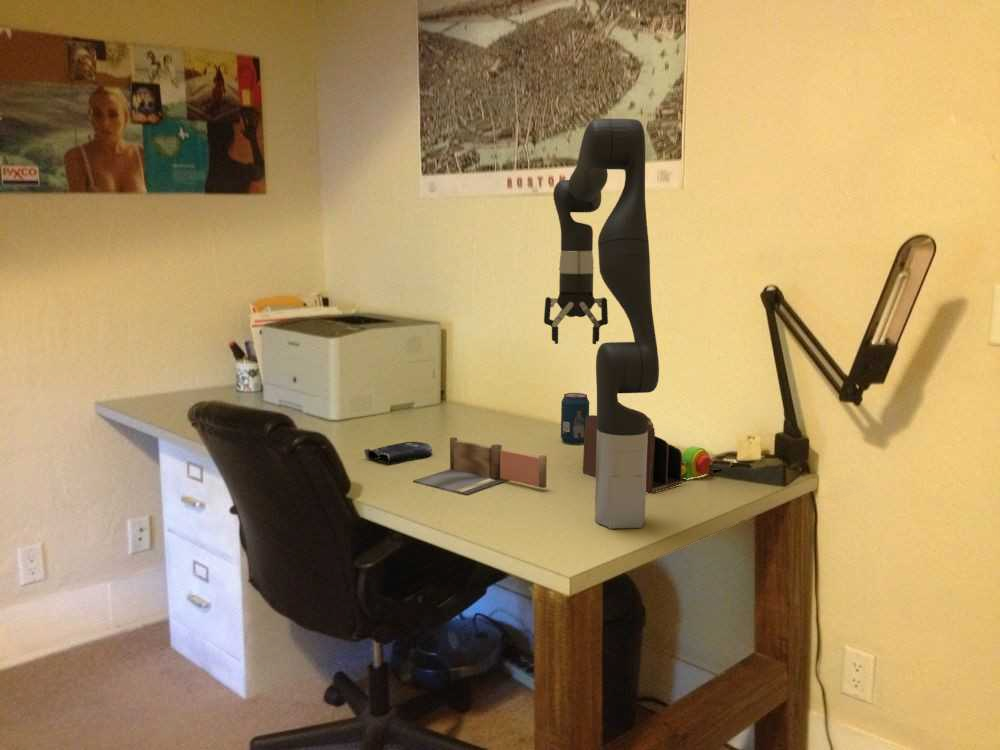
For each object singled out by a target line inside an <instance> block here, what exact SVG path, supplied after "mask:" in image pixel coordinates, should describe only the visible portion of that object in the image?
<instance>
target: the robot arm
mask: <svg viewBox="0 0 1000 750" xmlns="http://www.w3.org/2000/svg"><path fill="white" fill-rule="evenodd" d="M579 148H580V149H579V151H578V153H579V154H578V159H577V164H576V167H575V168H574V170H573V172H572V174H571V175H570V177H569V179H563V180H562V179H561V180H560V181H558V182H557V183H556V184H555V186H554V189H553V193H552V195H553V200H554V206H555V209H556V212H557V213H556V214H557V216H558V221H559V225H560V227H559V228H560V257H559V267H558V271H559V283H558V284H559V285H558V288H559V290H558V291H559V294H558V297H556V298H555V297H554V298H553V297H549V296H546V297H545V302H544V313H543V315H544V316H543V323H544V324H545V325H547V326H550V327H551V341H552V342H554V344H555V345H558V344H559V327H558V326H559V324H561V322H562V321H563V320H564V318H565V317H569V318H573V317H574V318H575V317H578V318H583V317H585V316H587V318H588V319H589V320H590V321H591V323H592V325H593V326H592V335H591V336H592V341H591V342H592V345H597V343H598V342H599V341H600V329H601V327H602V326H604V325H605V326H606V325H607V324H608V323H609V316H608V315H609V314H608V313H609V312H608V310H609V309H608V299H607V298H606V297H601V298H600V297H599V298H595V297H594V268H595V267H594V254H593V253H594V252H593V248H594V246H593V245H594V231H593V229H594V228H593V227H592V226H591V225H590V224H587V223H584V222H579V221H576V220H574V219H573V217H572V215H571V213H582V214H583V213H588V214H589V213H593V212H595V211H597V210H598V209H599V208H600V206H601V203H602V190H603V189H604V187H605V186H606V184H607V181H608V175H609V174H608V170H623V171H624V174H625V175H624V176H625V178H624V179H625V180H624V187H623V188H622V192H621V193H620V195H619V198H618V200H617V202H616V204H615V206H614V208H613V209H612V210H611V212H610V213H609V216H608V217H607V219H606V220H605V222H604V224H603V226H602V227H601V229H600V232H599V233H598V239H597V249H598V265H599V267H598V268H599V273H600V276H601V278H602V280H603V282H604V284H605V286H606V287H607V289H609V292H610V293H611V294H612V296H613V297H614V298H615V299H616V301H617V302H618V304H619V305H620V306H621V308H622V310H623V311H624V314H626V317H627V318H628V322H629V323H630V327H631V330H632V335H633V340H634V341H616V342H615V341H614V342H611V341H609V342H603V343H602V344H600V345H599V347H598V349H597V351H596V357H595V358H596V359H595V360H596V361H595V381H596V383H595V384H596V416H597V445H596V477H595V486H594V487H595V491H594V492H595V494H594V496H595V497H594V499H595V500H594V520H595V522H596V523H597V524H599V525H602V526H604V527H607V528H608V529H609V530H610V529H635V528H636V529H637V528H638V529H641V528H643V525H644V524H645V522H646V499H647V497H646V496H647V493H646V472H647V443H648V418H649V417H648V416H647V415H646V414H645V413H644V412H641V411H639V410H636V409H633V408H630V407H627V406H625V405H623V404H622V403H621V402H619V399H618V394H642V393H643V394H646V393H651V392H654V391H655V389H657V386H658V383H659V379H660V378H659V377H660V362H659V352H658V344H657V338H656V329H655V324H654V323H655V322H654V321H655V320H654V314H653V305H652V304H653V303H652V290H651V289H652V288H651V287H652V286H651V256H650V241H649V232H648V222H647V208H646V135H645V129H644V126H643V124H642V122H641V121H640V120H639V119H633V118H596V119H593V120H591V121H589V123H588V125H587V126H586V128H585V131H584V133H583V136H582V141H581V145H580V147H579ZM555 304H557V305H558V306H559V308H560V309H561V310H560V311H559V313H558V314H557V315H556V317H555V318H554V319H551V308H554V306H555ZM595 304H596V305H597V307H598V308H600V311H601V312H600V314H601V319H599V320H597V318H596V317H595V315H594V314H593V312H592V311H591V309H593V306H594V305H595ZM647 417H648V418H647Z"/></svg>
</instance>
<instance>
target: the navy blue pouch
mask: <svg viewBox="0 0 1000 750" xmlns="http://www.w3.org/2000/svg"><path fill="white" fill-rule="evenodd" d="M432 452H433V447H432V446H431V445H430V444H429V443H427V442H421V441H420V442H419V441H405V442H400V443H395V444H390V445H389V444H388V445H385V446H382V447H378V448H375V449H371V450H370V448H365V449H364V455H365V458H366V460H367V459H368V460H369V459H374V460H376V459H375V458H377V459H379V458H378V457H381V458H384V457H387V459H388V461H387V462H388V463H387V466H389V465H392V464H397V463H401V462H405V461H410V460H418V459H421V458H427V457H428V456H430V455H432ZM383 461H384V462H386V460H383ZM384 462H378V463H380V464H385V463H384Z"/></svg>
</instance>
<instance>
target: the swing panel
mask: <svg viewBox="0 0 1000 750" xmlns="http://www.w3.org/2000/svg"><path fill="white" fill-rule="evenodd" d="M547 458H548V457H547V455H543V454H542V455H538V456H537V455H533V454H529V453H528V454H527V453H523V452H517V451H513V450H509V449H502V450H500V478H502V479H507V480H509V481H511V482H516V483H521V484H524V485H529V486H533V487H538V488H540V489H541V488H543V489H545V488H547V461H548V460H547Z"/></svg>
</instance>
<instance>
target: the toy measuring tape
mask: <svg viewBox="0 0 1000 750" xmlns="http://www.w3.org/2000/svg"><path fill="white" fill-rule="evenodd" d="M681 453H682V478H686V479H688V478H691V477H698V476H701V475H704V474H706V473H708V472H709V464H710V463H711V464H712V459H711V458H710V457H711V456H710V455H709V452H708V451H707V450H706V449H705V448H703V447H698V446H693V445H691V446H688V447H686V448H685V449H684V450H683V451H682V452H681Z"/></svg>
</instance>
